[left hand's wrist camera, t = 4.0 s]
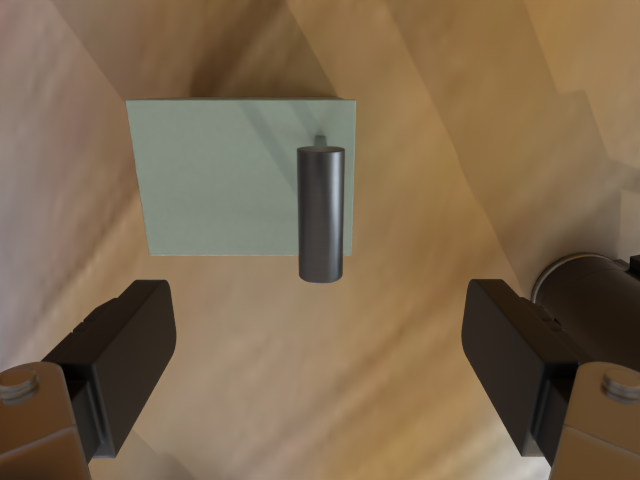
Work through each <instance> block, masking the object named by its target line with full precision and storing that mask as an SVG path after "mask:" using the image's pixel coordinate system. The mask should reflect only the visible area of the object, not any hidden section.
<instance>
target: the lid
mask: <svg viewBox="0 0 640 480" xmlns="http://www.w3.org/2000/svg"><path fill="white" fill-rule="evenodd" d="M125 101H126V108H127V114H128V120H129V127H130V133H131V140H132V146H133V152H134V159H135V165H136V172H137V178H138V184H139V191H140V197H141V204H142V210H143V216H144V223H145V229H146V236H147V242H148V248H149V255H299V276H300V278H301V279H303V280H304V281H307V282H310V283H317V284H325V283H331V282H335V281H337V280H339V279H340V278H341V277H342V273H343V255H351V254H352V222H353V188H354V153H355V119H356V100H354V99H132V100H125Z"/></svg>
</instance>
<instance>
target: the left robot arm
mask: <svg viewBox="0 0 640 480" xmlns="http://www.w3.org/2000/svg"><path fill="white" fill-rule="evenodd" d="M461 337H462V346H463V350H464V353H465V355H466V357H467V359H468V360H469V362H470V364H471V366H472V368H473V369H474V371H475V373H476V375H477V377H478V379H479V380H480V382H481V384H482V386H483V388H484V389H485V391H486V393H487V395H488V397H489V398H490V400H491V402H492V404H493V406H494V407H495V409H496V411H497V413H498V415H499V417H500V418H501V420H502V422H503V424H504V426H505V427H506V429H507V431H508V433H509V435H510V436H511V438H512V440H513V442H514V444H515V445H516V447H517V449H518V451H519V453H520V455H521V456H522V457H545V458H546V460H547V461H548V463H549V465H550V466H551V472H550V475H549V479H548V480H640V255H636V256H631V257H630V264H628V263H627V262H625V261H623V260H621V259H619V260H610V259H609V258H607V257H605V256H603V255H600V254H595V253H578V254H573V255H570V256H567V257H564V258H562V259H560V260H558V261H556V262H555V263H553V264H552V265H551V266H549V267H548V268H547V269H546V270H545V271H544V272H543V273H542V274H541V276H540V277H539V278H538V280H537V282H536V283H535V285H534V288H533V291H532V295H531V301H529V300H527V299H525V298H524V297H519V296H518V295H517V294H516V293H515V292H514V291H513V290H512V289H511V288H510V287H509V286H508V285H507V284H506V283H505V282H504V281H503V280H502V279H472V280H471V281H470V282H469V285H468V289H467V296H466V303H465V310H464V317H463V324H462V333H461ZM175 345H176V326H175V319H174V312H173V305H172V298H171V291H170V286H169V284H168V282H167V281H166V280H135V281H134V282H133V283H132V284H131V285H130V286H129V287H128V288H127V289H126V290H125V291H124V292H123V293H122V294H121V295H120V296H119V297H118V298H113V299H111V300H110V301H108V302H106V303H104V304H102V305H100V306H99V307H97V308H95V309H94V310H93V311H92V312H91V313H90V314H89V315H88V316H87V317H86V318H85V319H84V321H83V322H81V323H80V324H79V325H78V326H77V327H76V328H75V329H74V330H73V332H70V333H69V334H68V335H67V336H66V337H65V338H64V339H63V340H62V341H61V342H60V343H59V344H58V345H57V346H56V347H55V348H54V349H53V350H52V351H51V352H50V353H49V354H48V355H47V356H46V357H45V358H43V359H42V360H41V361H40V362H32V363H27V364H23V365H19V366H16V367H13V368H10V369H8V370H5V371H3V372H1V373H0V480H92V479H91V475H90V472H89V468H88V464H89V462H90V460H91V459H92V458H115V457H116V455H117V454H118V452H119V450H120V448H121V447H122V445H123V443H124V441H125V439H126V438H127V436H128V434H129V432H130V430H131V429H132V427H133V425H134V423H135V422H136V420H137V418H138V416H139V414H140V413H141V411H142V409H143V407H144V405H145V404H146V402H147V400H148V398H149V396H150V395H151V393H152V391H153V389H154V388H155V386H156V384H157V382H158V380H159V379H160V377H161V375H162V373H163V371H164V370H165V368H166V366H167V364H168V363H169V361H170V359H171V357H172V355H173V353H174V350H175Z"/></svg>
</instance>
